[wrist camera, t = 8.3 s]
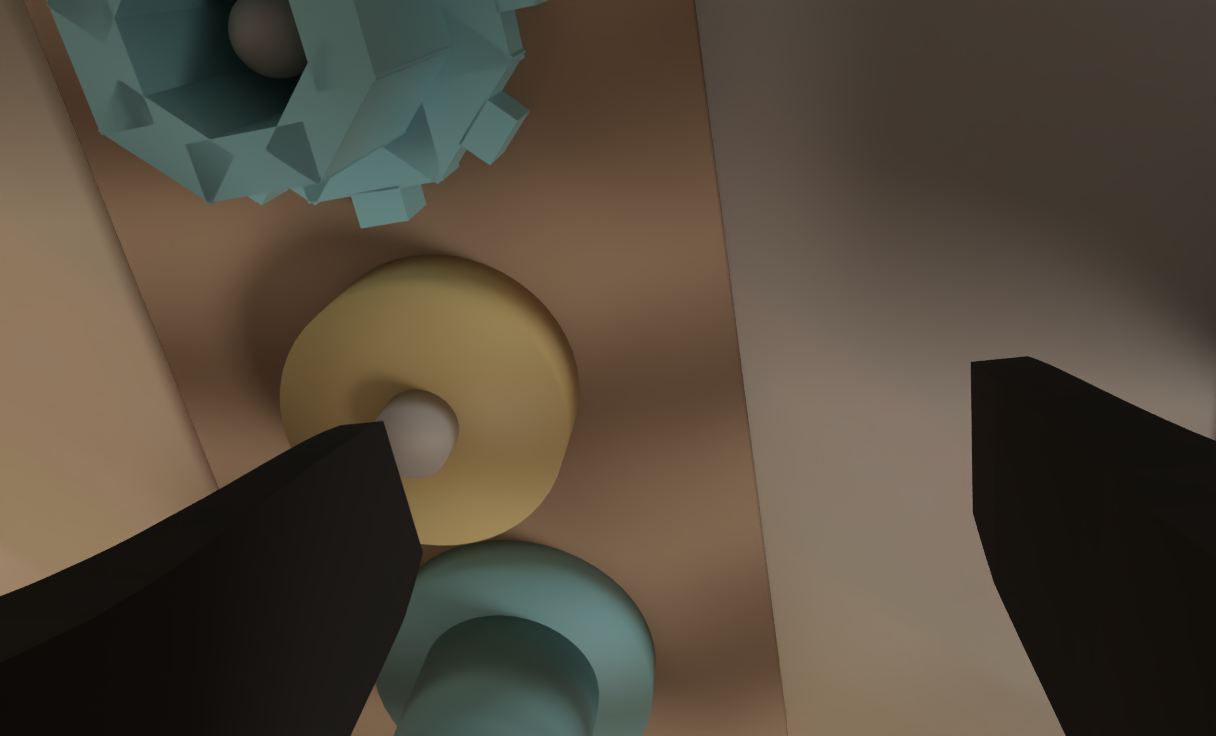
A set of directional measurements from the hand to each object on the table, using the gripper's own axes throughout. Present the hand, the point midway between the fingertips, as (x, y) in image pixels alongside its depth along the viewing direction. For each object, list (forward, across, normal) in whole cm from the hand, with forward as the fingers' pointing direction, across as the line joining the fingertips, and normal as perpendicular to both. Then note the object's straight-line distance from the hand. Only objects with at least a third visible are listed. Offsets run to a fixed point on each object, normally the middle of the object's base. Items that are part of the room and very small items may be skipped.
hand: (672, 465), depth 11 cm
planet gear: (+8, +6, -6) cm, 12 cm away
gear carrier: (+9, +6, +2) cm, 11 cm away
